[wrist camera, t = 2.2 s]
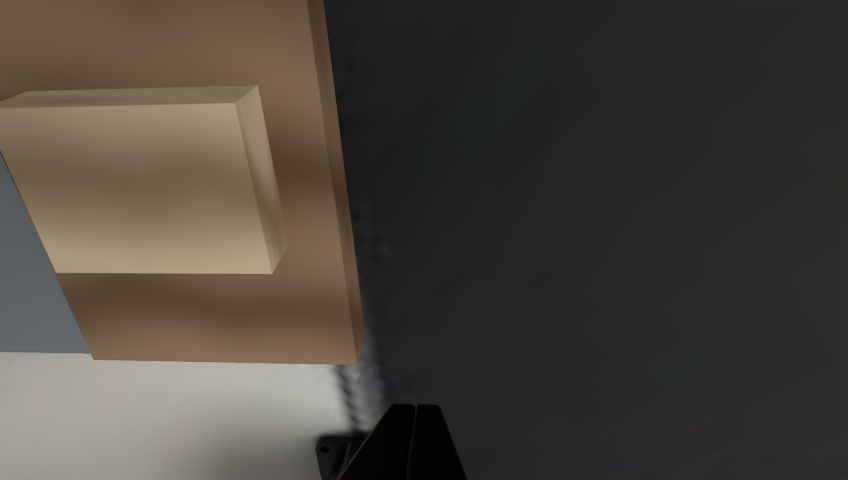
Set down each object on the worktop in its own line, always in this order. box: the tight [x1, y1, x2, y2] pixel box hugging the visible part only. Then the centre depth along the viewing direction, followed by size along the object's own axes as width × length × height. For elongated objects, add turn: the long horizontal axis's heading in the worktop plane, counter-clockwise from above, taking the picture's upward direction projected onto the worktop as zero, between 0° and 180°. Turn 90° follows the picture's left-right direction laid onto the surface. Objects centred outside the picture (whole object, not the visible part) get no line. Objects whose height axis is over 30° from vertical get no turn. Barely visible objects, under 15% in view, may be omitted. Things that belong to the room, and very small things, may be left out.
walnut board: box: [0, 0, 365, 365], centre depth 21 cm, size 18×12×2 cm, turn 3°
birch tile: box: [0, 85, 289, 274], centre depth 19 cm, size 6×8×2 cm
